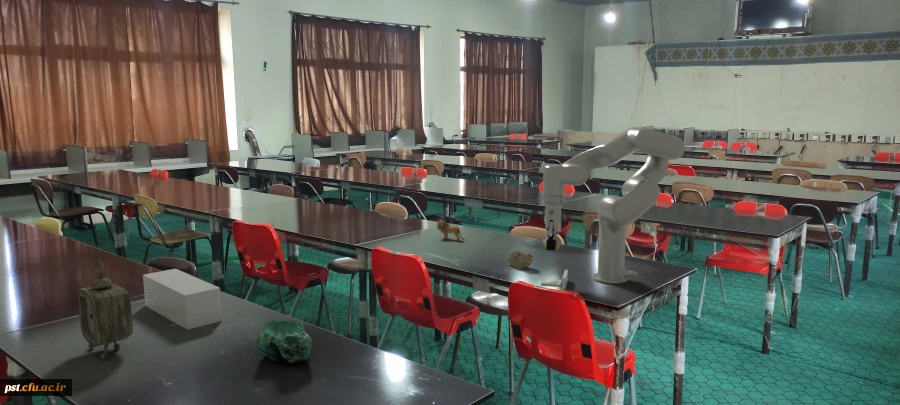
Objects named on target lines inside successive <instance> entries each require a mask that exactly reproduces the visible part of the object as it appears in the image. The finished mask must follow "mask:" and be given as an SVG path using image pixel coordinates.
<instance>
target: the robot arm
mask: <svg viewBox="0 0 900 405" xmlns="http://www.w3.org/2000/svg"><path fill="white" fill-rule="evenodd" d="M685 150H686V144H685V142H684V141H683V139H682V138H680V137H678V136H677V135H673V134H670V133H669V134H668V133H666V132H660V131H657V130H653V129H650V128H647V127H646V128H645V127H639V126H638V127H631V128H628V129H626V130H624V131H622V132H621V133H619V134H617V135H616V136H614V137H612V138H611V139H608V140H607V141H605V142H603V143H602V144H600V145H597V146H594V147H593V148H590V149H588V150H585V151H583V152H581V153H579V154H576V155H575V156H573V157H572V158H570V159H568V160H566V161H565V162H563V163H562V164H547V165H545V166H544V167H543V170H542V171H543V175H542V182H543V183H542V204H544V205H545V218H544V219H545V220H544V221H545V232H547V234H546V235H547V248H546V249H547V250H548V251H551V252H555V251H557V250H556V240H555V235H556V236H558V233H559V232H560V231H561V228H562V205H564V202H565V186H576V187H579V186H583V185H584V184H585V183H586V182H587V181H588V179H589V172H590V171H592V170H595V169H601V168H608V167H611V166H614V165H617V163H619V162H620V161H623V160H624V159H626V158H628V157H630V156H631V155H633V154H635V153H636V152H640V153H645V154H647V159H646V161H645V163H644V164H643V165H642V166H641V167H640V168H639V169H638V170H637V171H636V172H635V173H634V174H632V175H631V176H630V177H629V178H628V179H627V180H625V182H624V183H623V184H622V186H621V195H622V196H623V197H621V196H618V195H613V194H612V195H610V194H609V195H606V196H604V197H603V198H602V199H601V200H600V201H599V203H598V206H597V214H598V215H597V218H598V229H599V230H598V253H597V256H598V257H597V273H595V274H593V280H595V281H596V282H599V283H603V284H611V285H612V284H613V285H617V284H624V283H627V282H628V281H629V277H632V278H638V277H637V275H638V274H637V273H638V272H637V271H633V270H627V269H626V266H625V255H626V238H627V237H626V236H627V234H626V233H627V232H626V227H628V226H630V225H632V224H633V223H635V222H636V221H637V220H638V219H639V218H641V217H642V216H643V215H644V214H645V213H646V212H647V211H648V210H650V209H651V208H652V207H653V206H654V205H655V204H656V203H657V201H658V199H659V196H660V186H659V184H660V182H661V181H662V180H663V179H664V178H665V176H666V175H667V173H668V168H669V161H675V160H678V159H679V158H681V157H682V156H683V155H684V153H685V152H686V151H685ZM547 250H546V251H547Z"/></svg>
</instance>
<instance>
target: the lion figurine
mask: <svg viewBox="0 0 900 405" xmlns="http://www.w3.org/2000/svg"><path fill="white" fill-rule="evenodd" d="M436 228H437V230H439V231H440V233H442V234H443V236H444V237H443V239H442V240H446V239H448V236H449V234H450V235H452V234H454V236H455V237H456V238H455V240H456V241H457V242H460V241H461V240H462V241H465V240H466V239H465V238H464V237H462V234H461V229H460V228H459V227H458V226H455V225H454V226H451V225H450V224H449V223H447V222H446V221H444V220H441V219H440V220H438V221H437V223H436Z"/></svg>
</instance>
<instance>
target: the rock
mask: <svg viewBox="0 0 900 405" xmlns="http://www.w3.org/2000/svg"><path fill="white" fill-rule="evenodd" d="M533 261H534V259H533V255H532V254H531V253H530V252H525V251H518V250H515V251H513V252H511V253H510V255H508V257H507V263H508V264H509V265H511V266H512V267H514V268H515V269H517V270H520V271H521V270H524V269H525V270H526V268H528V267H531V265H532V263H533Z"/></svg>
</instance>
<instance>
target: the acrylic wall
mask: <svg viewBox="0 0 900 405" xmlns="http://www.w3.org/2000/svg"><path fill="white" fill-rule="evenodd" d="M563 271H564V272H563V275H562V278H561V280H562V282H561V290H564V291H565V290H566V288H567V285H568V280H569V270H568V269H564V270H563Z"/></svg>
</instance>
